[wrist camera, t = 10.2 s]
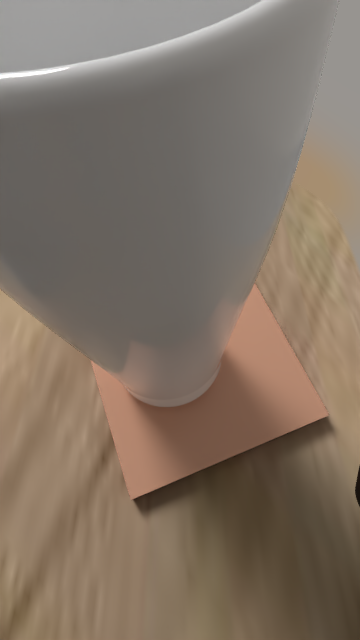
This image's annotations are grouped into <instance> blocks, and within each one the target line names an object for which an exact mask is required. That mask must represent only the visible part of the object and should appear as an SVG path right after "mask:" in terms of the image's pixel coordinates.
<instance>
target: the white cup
mask: <svg viewBox="0 0 360 640" xmlns="http://www.w3.org/2000/svg"><path fill="white" fill-rule="evenodd" d="M338 3H339V0H0V289H1V290H2V291H3V292H4V293H5V294H6V295H8V296H9V297H10V298H11V299H12V300H14V301H15V302H16V303H17V304H18V305H20V306H21V307H22V308H23V309H24V310H26V311H27V312H28V313H30V314H31V315H32V316H33V317H35V318H36V319H37V320H39V321H40V322H41V323H42V324H44V325H45V326H46V327H48V328H49V329H50V330H51V331H53V332H54V333H55V334H57V335H58V336H59V337H61V338H62V339H63V340H65V341H66V342H67V343H69V344H70V345H71V346H73V347H74V348H75V349H77V350H78V351H79V352H81V353H82V354H83V355H85V356H86V357H87V358H89V359H90V360H91V361H93V362H94V363H95V364H97V365H98V366H99V367H101V368H102V369H103V370H105V371H106V372H107V373H109V374H110V375H111V376H112V377H114V378H115V379H116V380H117V381H119V382H120V383H121V384H122V385H123V387H124V388H125V389H126V390H127V391H128V392H129V393H130V394H131V395H132V396H134V397H135V398H137V399H138V400H140V401H142V402H144V403H146V404H149V405H152V406H157V407H176V406H181V405H184V404H187V403H189V402H192V401H194V400H195V399H197V398H198V397H200V396H201V395H202V394H204V393H205V392H206V391H207V390H208V389H209V388H210V386H211V385H212V384H213V382H214V381H215V379H216V377H217V375H218V373H219V370H220V367H221V363H222V358H223V355H224V352H225V350H226V347H227V345H228V343H229V340H230V338H231V335H232V333H233V331H234V329H235V326H236V324H237V322H238V319H239V317H240V315H241V313H242V310H243V308H244V306H245V304H246V301H247V299H248V297H249V295H250V292H251V290H252V288H253V285H254V283H255V281H256V279H257V276H258V274H259V272H260V270H261V267H262V265H263V262H264V260H265V258H266V255H267V253H268V251H269V248H270V245H271V243H272V240H273V238H274V235H275V232H276V230H277V227H278V224H279V221H280V218H281V215H282V212H283V209H284V206H285V203H286V200H287V197H288V194H289V190H290V187H291V184H292V181H293V177H294V174H295V171H296V167H297V163H298V161H299V157H300V154H301V150H302V147H303V143H304V140H305V136H306V132H307V129H308V125H309V121H310V118H311V114H312V110H313V106H314V102H315V98H316V94H317V90H318V87H319V83H320V79H321V75H322V70H323V66H324V62H325V58H326V54H327V50H328V46H329V41H330V37H331V33H332V29H333V25H334V20H335V16H336V12H337V7H338Z"/></svg>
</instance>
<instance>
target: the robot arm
mask: <svg viewBox="0 0 360 640" xmlns="http://www.w3.org/2000/svg"><path fill="white" fill-rule="evenodd" d="M355 494H356V498H357V501H358V504H359V506H360V466H359V471H358V477H357V482H356V487H355Z"/></svg>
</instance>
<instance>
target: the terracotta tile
mask: <svg viewBox="0 0 360 640" xmlns="http://www.w3.org/2000/svg"><path fill="white" fill-rule="evenodd" d="M91 363H92V367H93V370H94V374H95V377H96V381H97V384H98V387H99V391H100V394H101V398H102V401H103V405H104V408H105V412H106V415H107V419H108V422H109V426H110V429H111V433H112V436H113V440H114V443H115V447H116V450H117V454H118V457H119V461H120V464H121V468H122V471H123V475H124V478H125V482H126V485H127V489H128V492H129V496H130V499H131V500H132V499H135V498H137V497H139V496H142V495H144V494H146V493H149V492H151V491H153V490H156V489H158V488H161V487H163V486H165V485H168V484H170V483H172V482H175V481H177V480H179V479H182V478H184V477H186V476H189V475H191V474H193V473H196V472H198V471H200V470H203V469H205V468H207V467H210V466H212V465H214V464H217V463H219V462H221V461H224V460H226V459H228V458H231V457H233V456H235V455H238V454H240V453H242V452H245V451H247V450H249V449H252V448H254V447H256V446H259V445H261V444H263V443H266V442H268V441H270V440H273V439H275V438H277V437H280V436H282V435H284V434H287V433H289V432H291V431H294V430H296V429H298V428H301V427H303V426H305V425H308V424H310V423H312V422H315V421H317V420H319V419H322V418H324V417H326V416H328V415H329V413H328V411H327V410H326V408H325V406H324V404H323V402H322V401H321V399H320V397H319V395H318V394H317V392H316V390H315V388H314V387H313V385H312V383H311V381H310V380H309V378H308V376H307V374H306V373H305V371H304V369H303V367H302V365H301V364H300V362H299V360H298V358H297V357H296V355H295V353H294V351H293V350H292V348H291V346H290V344H289V343H288V341H287V339H286V337H285V336H284V334H283V332H282V330H281V328H280V327H279V325H278V323H277V321H276V320H275V318H274V316H273V314H272V313H271V311H270V309H269V307H268V306H267V304H266V302H265V300H264V298H263V297H262V295H261V293H260V291H259V290H258V288H257V286H256V284H255V283H254V285H253V288H252V290H251V292H250V295H249V297H248V299H247V301H246V304H245V306H244V308H243V310H242V313H241V315H240V317H239V319H238V322H237V324H236V326H235V329H234V331H233V333H232V335H231V338H230V340H229V343H228V345H227V347H226V350H225V352H224V355H223V358H222V363H221V367H220V370H219V373H218V375H217V377H216V379H215V381H214V382H213V384H212V385H211V386H210V388H209V389H208V390H207V391H206V392H205V393H204V394H202V395H201V396H200V397H198V398H197V399H195V400H194V401H192V402H189V403H187V404H184V405H181V406H176V407H157V406H152V405H149V404H146V403H144V402H142V401H140V400H138V399H137V398H135V397H134V396H132V395H131V394H130V393H129V392H128V391H127V390H126V389H125V388H124V387H123V385H122V384H121V383H120V382H119V381H117V380H116V379H115V378H114V377H112V376H111V375H110V374H109V373H107V372H106V371H105V370H103V369H102V368H101V367H99V366H98V365H97V364H95V363H94V362H93V361H91Z"/></svg>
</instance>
